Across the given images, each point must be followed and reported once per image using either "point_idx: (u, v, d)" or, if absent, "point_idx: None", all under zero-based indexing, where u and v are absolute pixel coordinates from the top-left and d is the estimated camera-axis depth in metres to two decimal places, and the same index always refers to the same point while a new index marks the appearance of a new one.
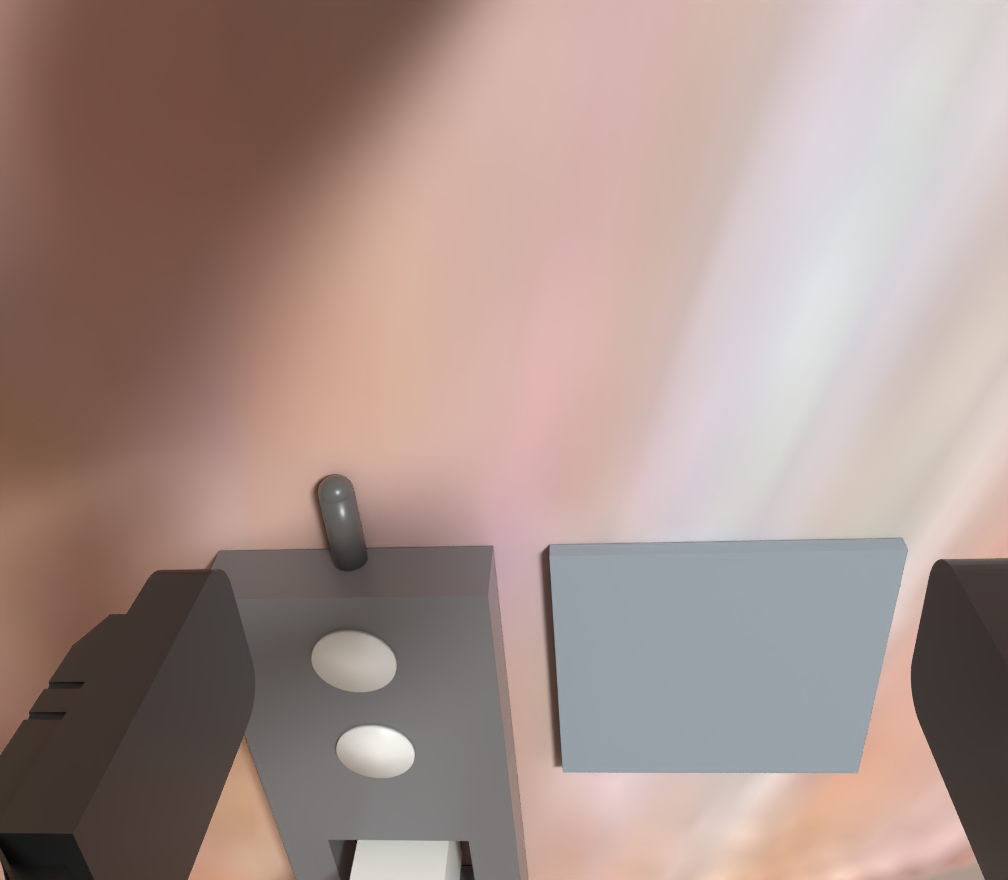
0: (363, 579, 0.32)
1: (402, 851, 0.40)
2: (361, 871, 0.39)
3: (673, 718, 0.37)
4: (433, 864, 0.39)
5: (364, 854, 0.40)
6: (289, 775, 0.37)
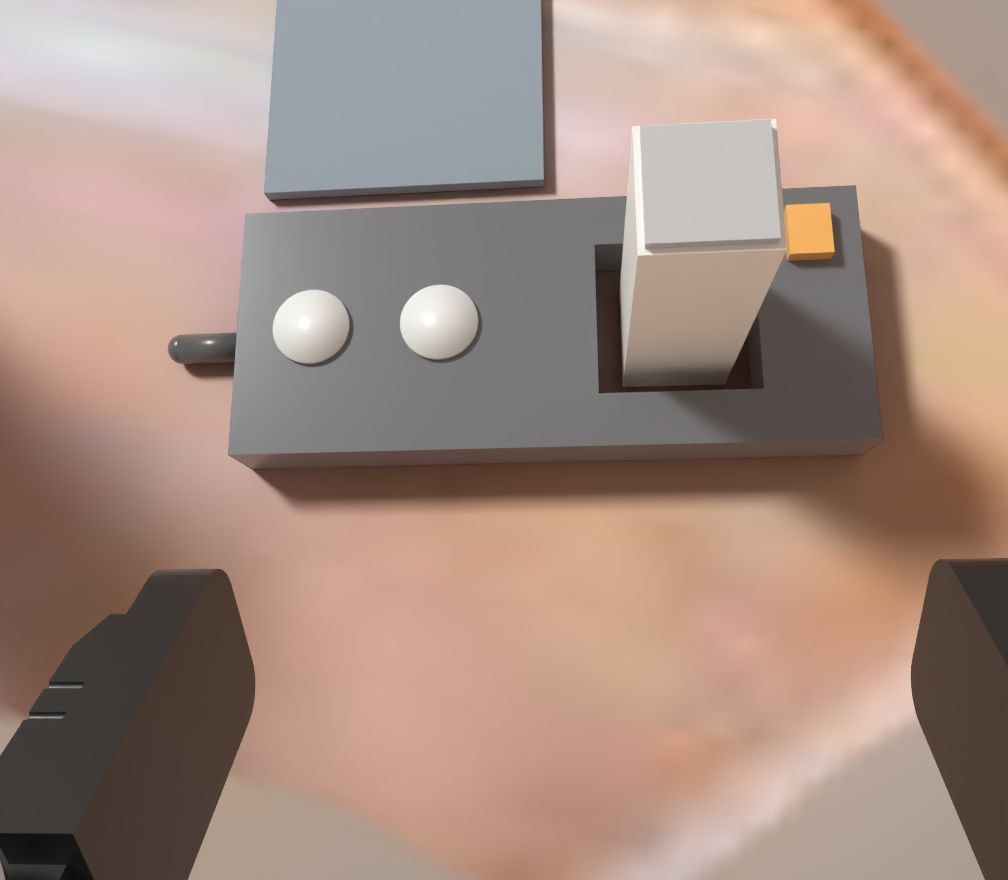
0: None
1: None
2: (625, 348, 0.34)
3: (463, 89, 0.40)
4: (622, 275, 0.35)
5: (624, 355, 0.35)
6: (480, 416, 0.35)
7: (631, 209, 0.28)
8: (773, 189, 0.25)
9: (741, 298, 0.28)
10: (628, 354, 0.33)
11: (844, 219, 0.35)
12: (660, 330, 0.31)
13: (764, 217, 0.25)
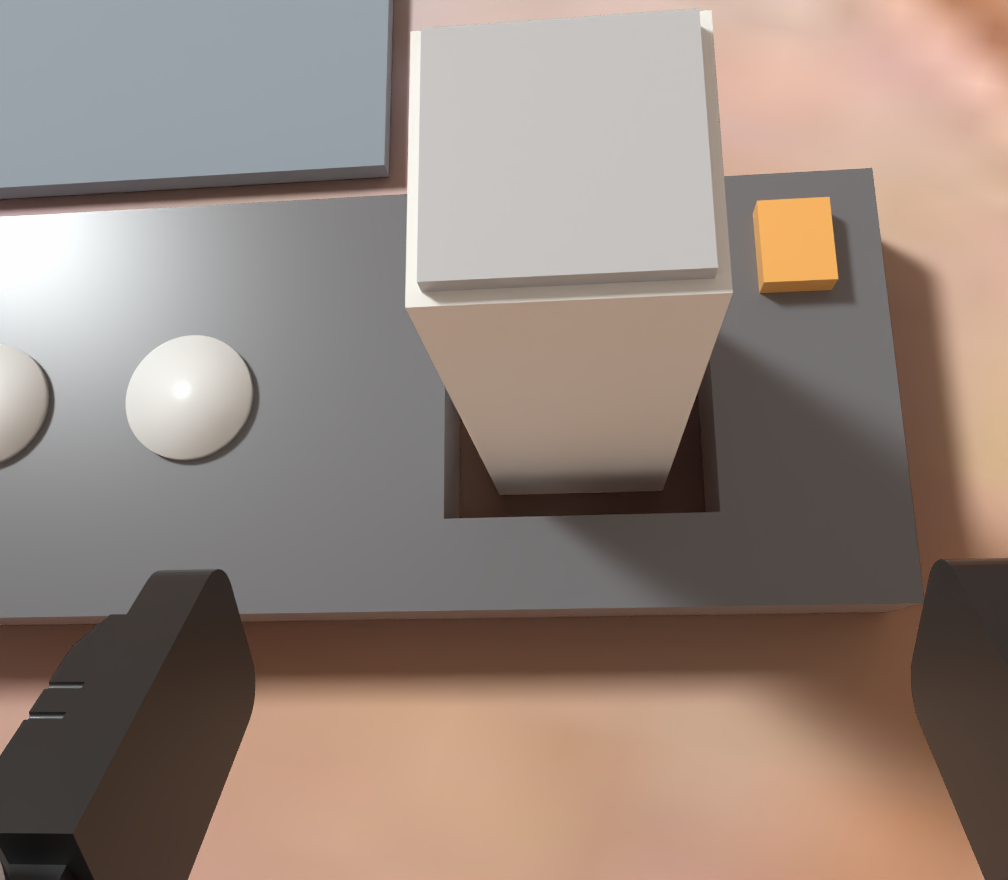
0: None
1: None
2: None
3: (269, 31, 0.27)
4: None
5: None
6: (247, 557, 0.21)
7: None
8: (702, 159, 0.11)
9: (656, 380, 0.14)
10: (484, 458, 0.19)
11: (854, 224, 0.21)
12: (522, 427, 0.17)
13: (681, 221, 0.11)
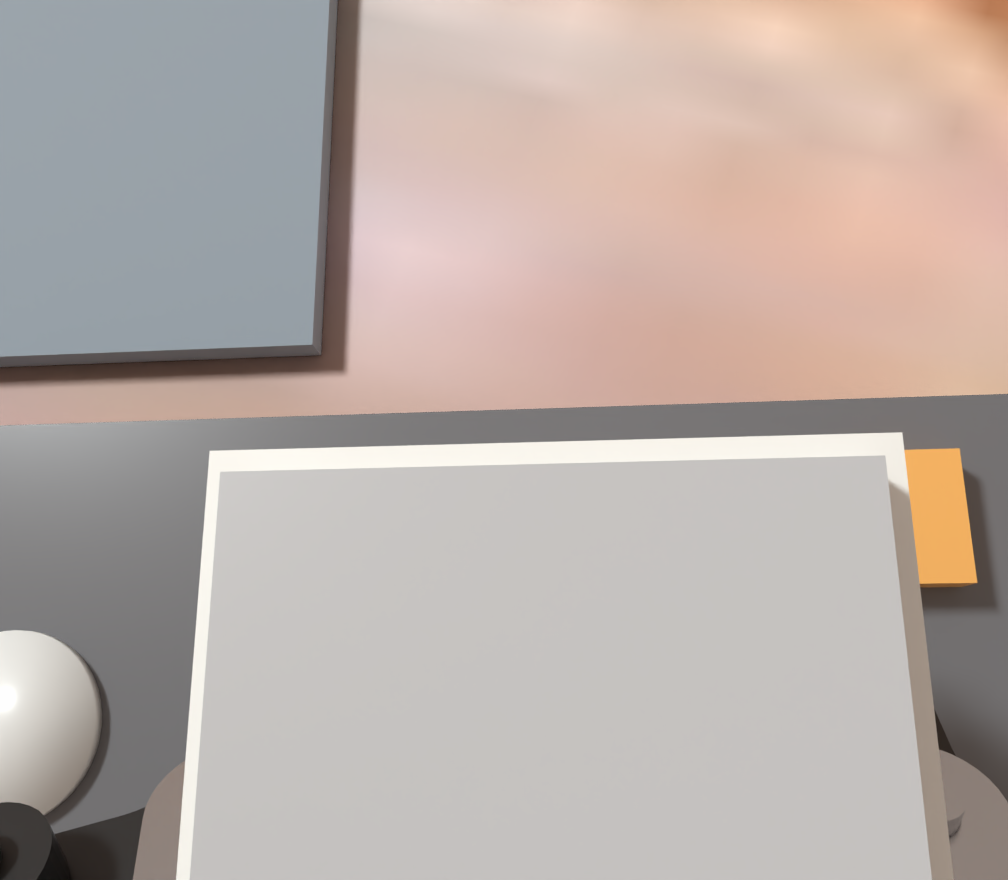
0: None
1: None
2: None
3: (162, 149, 0.20)
4: None
5: None
6: None
7: None
8: None
9: None
10: None
11: (992, 481, 0.14)
12: None
13: None
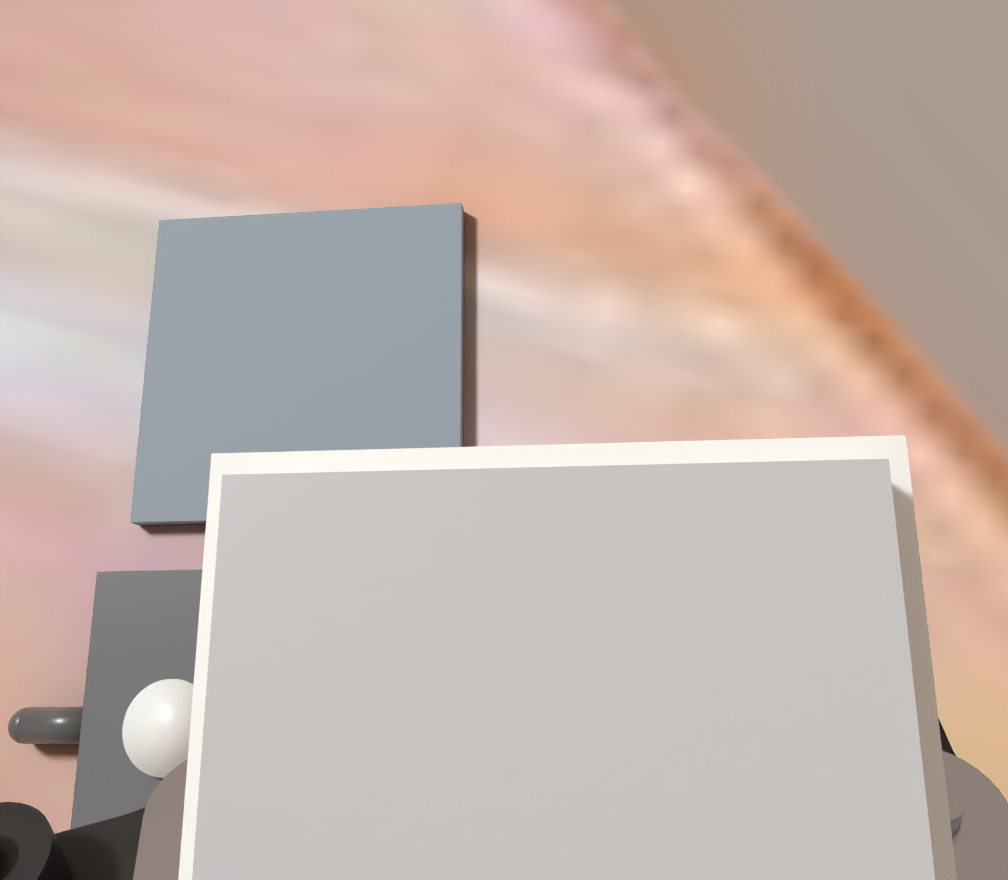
0: None
1: None
2: None
3: (367, 394, 0.34)
4: None
5: None
6: None
7: None
8: None
9: None
10: None
11: None
12: None
13: None
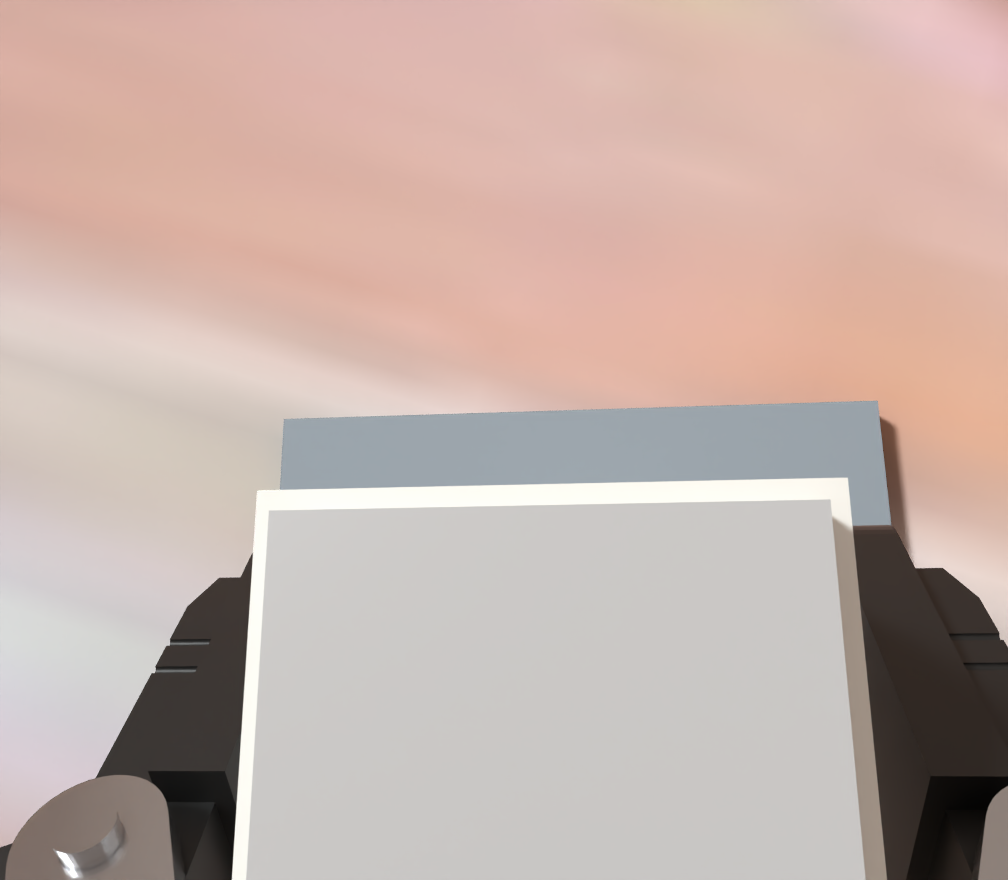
0: None
1: None
2: None
3: None
4: None
5: None
6: None
7: None
8: (848, 875, 0.05)
9: None
10: None
11: None
12: None
13: None
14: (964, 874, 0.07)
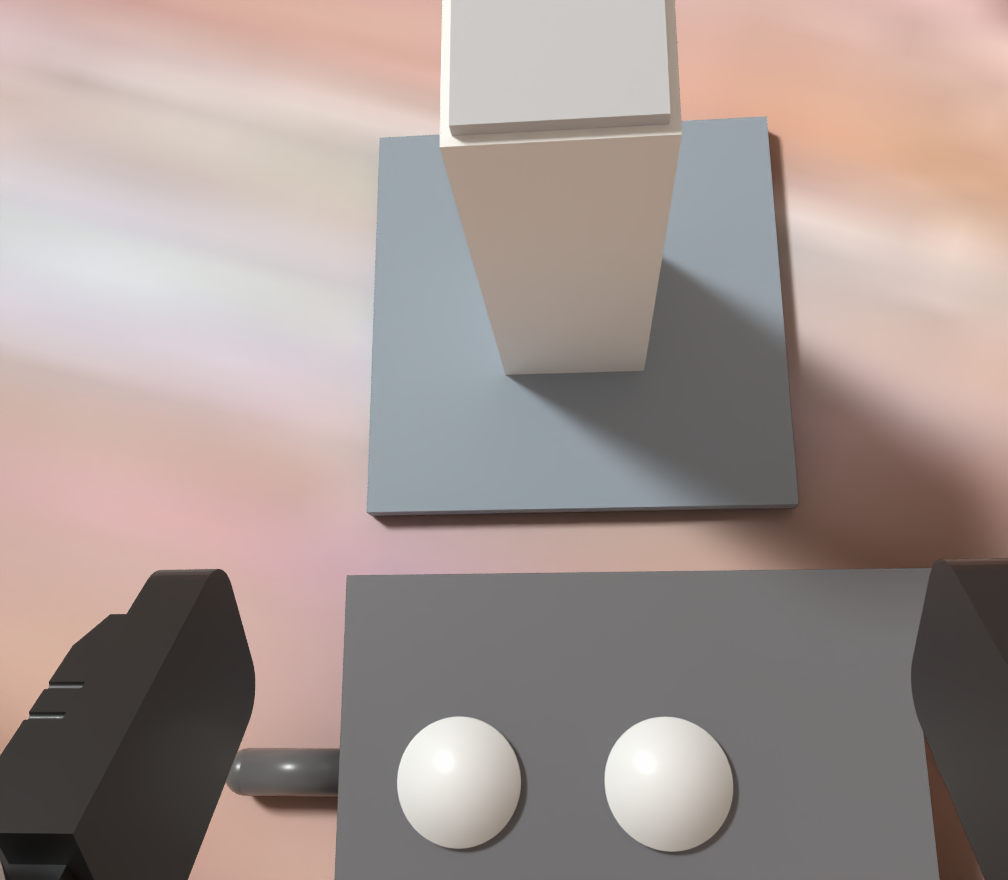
0: None
1: None
2: None
3: (664, 352, 0.27)
4: None
5: None
6: None
7: None
8: (660, 36, 0.15)
9: (631, 231, 0.18)
10: (493, 325, 0.23)
11: None
12: (525, 286, 0.21)
13: (644, 81, 0.15)
14: None
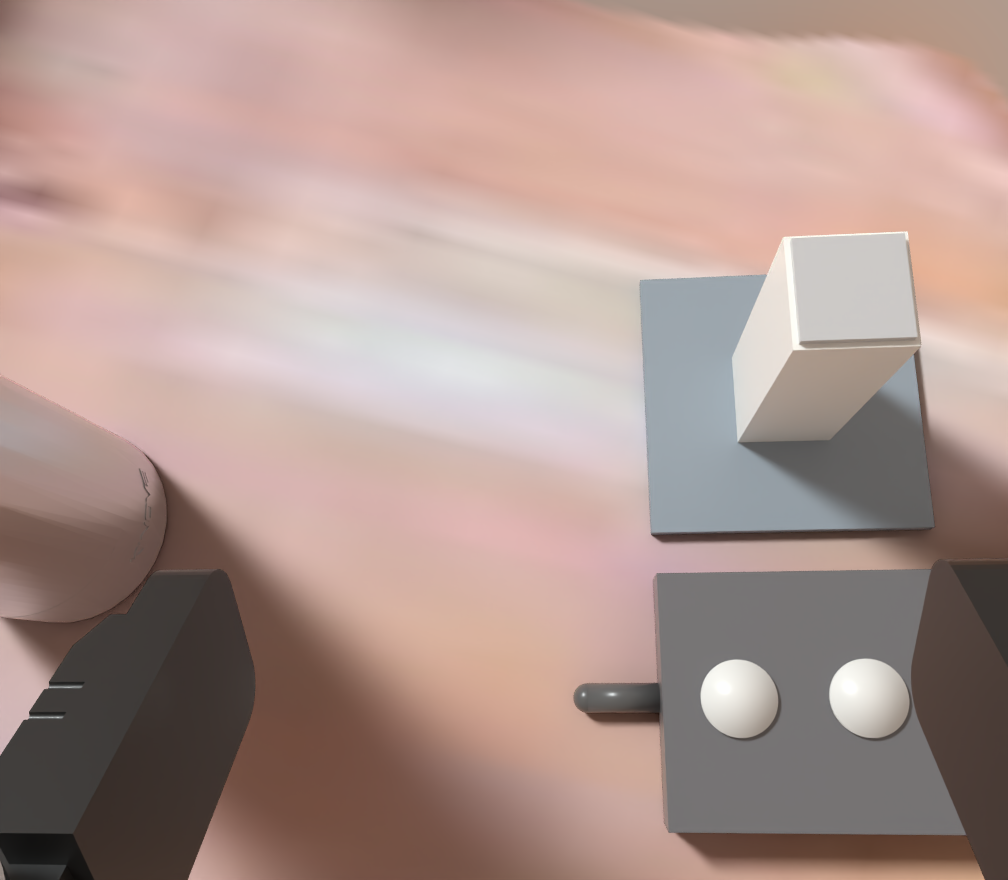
0: (660, 682, 0.38)
1: (742, 381, 0.40)
2: (749, 412, 0.38)
3: (842, 428, 0.41)
4: (742, 346, 0.40)
5: (746, 417, 0.39)
6: (921, 800, 0.36)
7: (776, 304, 0.32)
8: (909, 294, 0.30)
9: (869, 379, 0.33)
10: (753, 418, 0.38)
11: None
12: (789, 401, 0.36)
13: (902, 319, 0.30)
14: None
